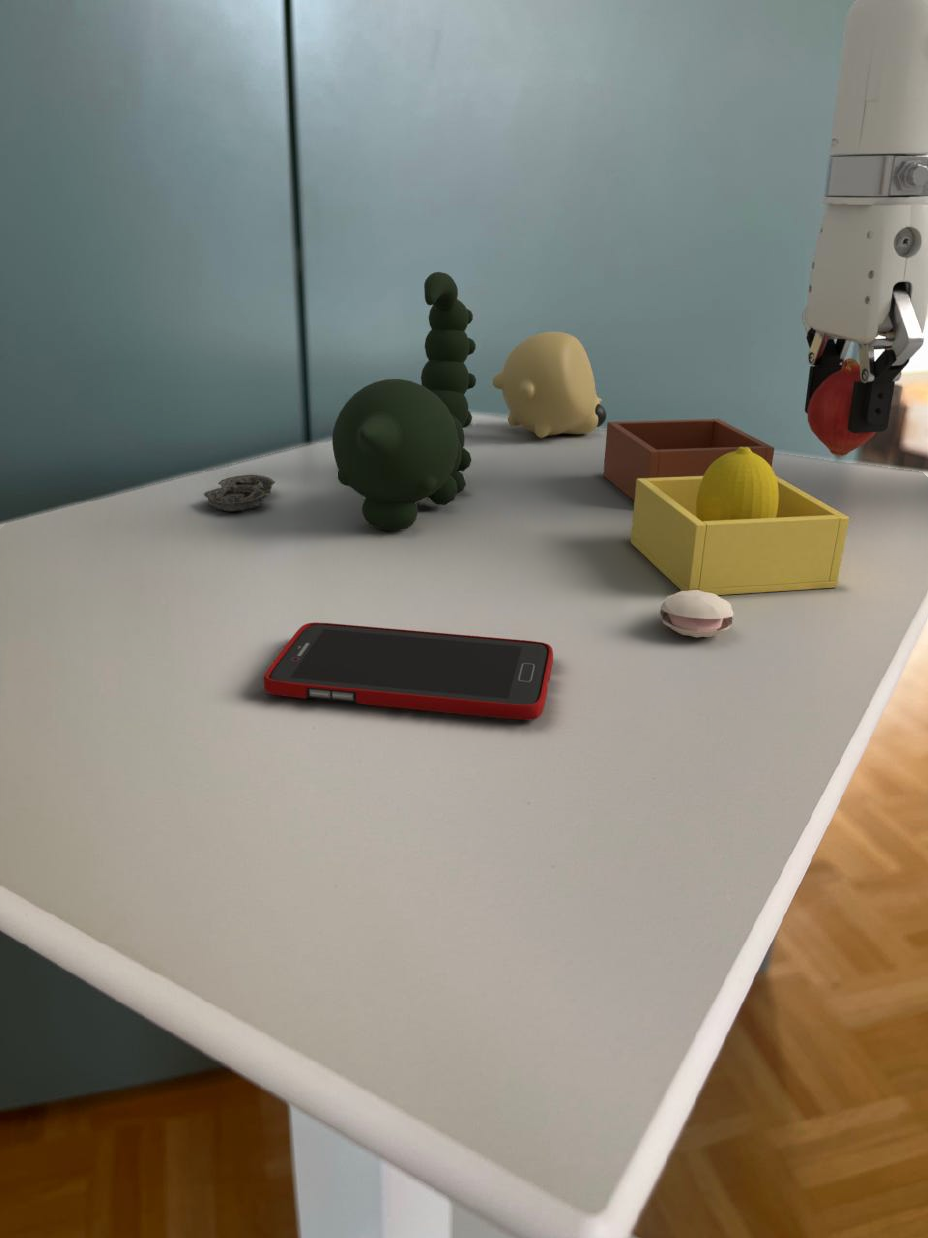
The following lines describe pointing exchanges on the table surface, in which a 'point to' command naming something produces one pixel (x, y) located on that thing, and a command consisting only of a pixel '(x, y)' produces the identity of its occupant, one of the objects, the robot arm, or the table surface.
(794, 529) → the yellow bin
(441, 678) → the cell phone
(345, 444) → the toy figurine
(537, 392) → the toy pig
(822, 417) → the onion
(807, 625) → the table surface
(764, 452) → the brown bin
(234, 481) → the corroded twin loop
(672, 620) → the macaroon
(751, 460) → the lemon
